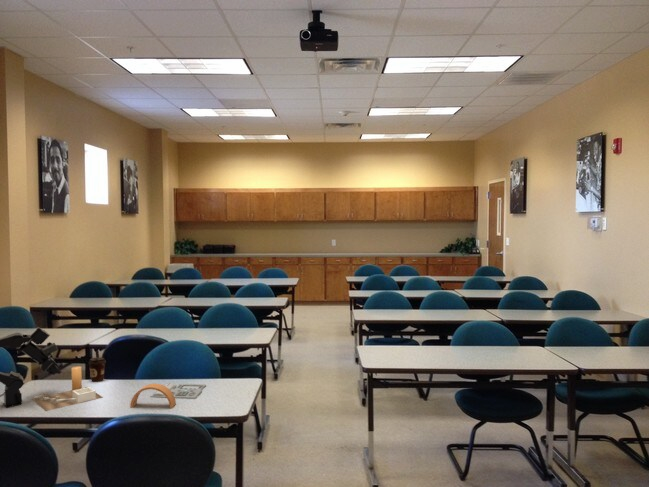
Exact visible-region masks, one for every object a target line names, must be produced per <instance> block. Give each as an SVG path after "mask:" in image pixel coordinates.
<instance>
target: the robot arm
mask: <svg viewBox="0 0 649 487" xmlns="http://www.w3.org/2000/svg"><path fill="white" fill-rule="evenodd" d="M50 336H51V334H50V333H48V332H47V331H46V330H45V329H43V328H41V327H40V326H37V328H36V329H35V330H34V331H33V332H32V333H31V334H23V333H21V332H14V333H10V334H7V335H6V336H3V337H0V348H3V347H5V348H16V352H17V355H19V354H21V352H22V353H24V354H25V355H27V356H28V357H30V359H31V360H33V361H35V362H36V363H37V364H38V365H39V366H40V370H42V371H43V372H48V373H53V374H61V373H62V371H61V370H60V366H59V365H58V364H57V363H56V361H55V359H54V356H53V354H52V353H54V352H57V351H58V350H59V348H58V347H57V345H56V343H55V342H50V341H49V342H47V343H46V346H45V347H44V348H43V347H39V346H38V345H42V344H44V342H45V341H46V340H47V339H48V338H49V337H50ZM0 383H1V384H3V385H5V386H4V391H3V403H2V405H3V406H4V407H6V408H10V407H14V406H19V405H22V401H23V400H22V399H23V398H22V396H23V394H22V393H21V390H20V389H21V388H22V387H23V386H24V376H22V375H21V373H20V372H15V371H13V370H11V371H10V373H7V372H5V373H4V372H2V371H0Z"/></svg>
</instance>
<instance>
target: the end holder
mask: <svg viewBox="0 0 649 487" xmlns="http://www.w3.org/2000/svg"><path fill="white" fill-rule="evenodd" d="M86 387H87V388H85V387H82V388H83V389H78V390H74V391H72V397H73V398H75V399H76V402H78V404H82V403H81V402H83V403H86V402H85V401H87V402H90V401H89V400H91V401H94V400H93V399H95V400H97V399H96V393H97V392H96V390H95V389H94V388H92V387H90V386H89V387H88V386H86Z"/></svg>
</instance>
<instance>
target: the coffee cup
mask: <svg viewBox="0 0 649 487" xmlns="http://www.w3.org/2000/svg"><path fill="white" fill-rule="evenodd" d="M106 363H107V361H106V359H105V358H104V357H92V358H90V359H89V361H88V366H89V367H88V368H89V376H90V380H91V383H99V382H103V381H104V378H105V369H106V367H105V366H106Z"/></svg>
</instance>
